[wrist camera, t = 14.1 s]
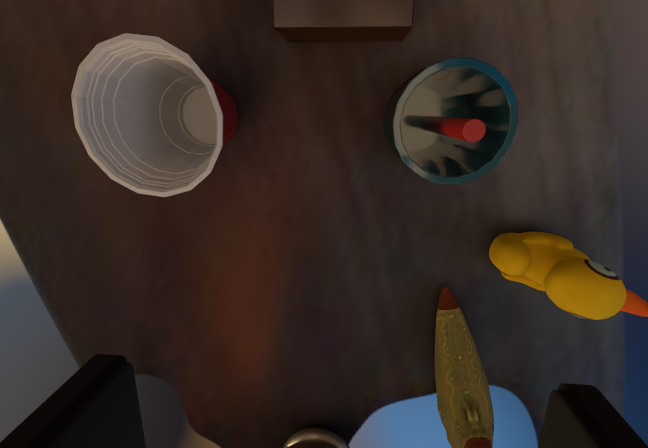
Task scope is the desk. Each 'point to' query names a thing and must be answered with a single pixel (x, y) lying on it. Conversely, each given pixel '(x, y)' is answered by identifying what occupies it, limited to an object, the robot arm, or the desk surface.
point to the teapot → (315, 439)
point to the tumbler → (456, 102)
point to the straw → (455, 127)
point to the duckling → (564, 275)
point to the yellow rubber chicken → (460, 379)
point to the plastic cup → (150, 114)
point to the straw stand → (343, 20)
